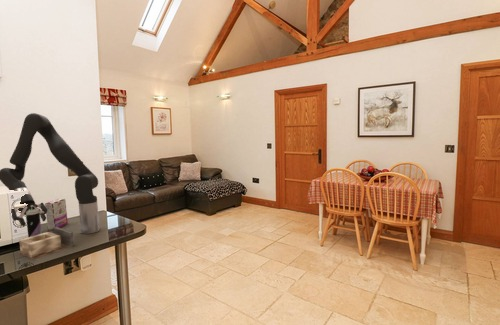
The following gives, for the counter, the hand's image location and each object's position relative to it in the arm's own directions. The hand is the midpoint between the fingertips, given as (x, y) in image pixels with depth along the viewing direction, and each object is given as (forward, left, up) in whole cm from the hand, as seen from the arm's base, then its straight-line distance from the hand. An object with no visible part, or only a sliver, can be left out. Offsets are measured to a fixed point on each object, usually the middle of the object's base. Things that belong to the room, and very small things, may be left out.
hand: (34, 222), depth 138 cm
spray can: (+1, -1, -12) cm, 12 cm away
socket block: (-6, +11, -11) cm, 17 cm away
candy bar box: (-1, -30, -12) cm, 32 cm away
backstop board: (-7, +10, -12) cm, 17 cm away
